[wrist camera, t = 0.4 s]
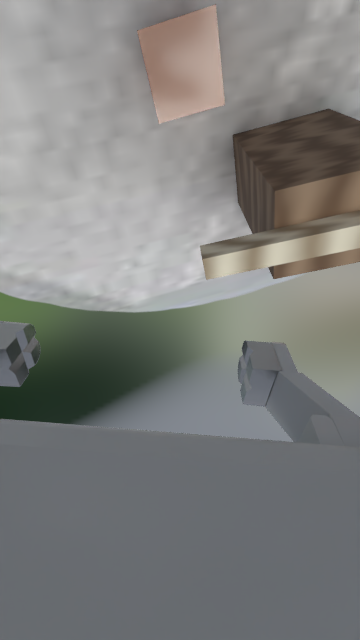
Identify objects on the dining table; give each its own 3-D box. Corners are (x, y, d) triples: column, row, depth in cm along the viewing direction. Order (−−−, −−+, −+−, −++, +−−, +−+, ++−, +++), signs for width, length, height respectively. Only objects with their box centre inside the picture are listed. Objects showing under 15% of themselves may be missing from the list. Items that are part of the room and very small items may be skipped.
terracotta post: (160, 103, 45) (159, 123, 34) (145, 34, 39) (137, 30, 28) (209, 89, 44) (225, 105, 32) (200, 16, 38) (215, 4, 27)
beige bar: (203, 265, 36) (206, 279, 34) (199, 245, 34) (202, 259, 32) (402, 223, 33) (419, 235, 31) (411, 198, 31) (429, 209, 29)
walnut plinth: (238, 202, 57) (273, 279, 38) (232, 134, 48) (274, 190, 30) (319, 182, 55) (399, 253, 36) (328, 108, 46) (438, 151, 28)
